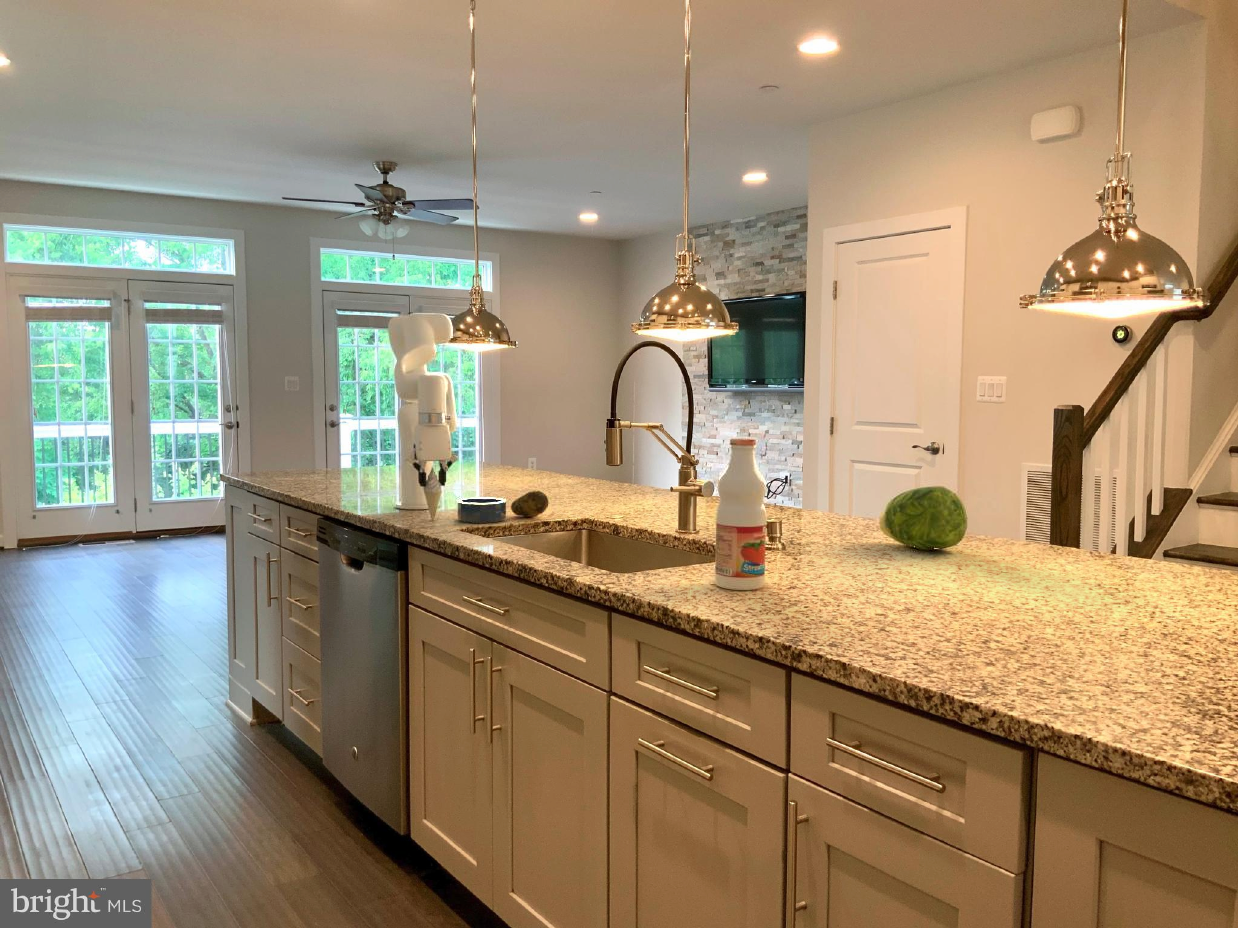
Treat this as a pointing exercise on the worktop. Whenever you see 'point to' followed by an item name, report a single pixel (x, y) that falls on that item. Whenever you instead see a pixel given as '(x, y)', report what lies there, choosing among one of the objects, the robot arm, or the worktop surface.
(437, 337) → the robot arm
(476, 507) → the bowl
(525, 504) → the potato
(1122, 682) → the worktop surface
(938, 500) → the lettuce
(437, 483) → the ice cream cone
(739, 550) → the fruit juice
